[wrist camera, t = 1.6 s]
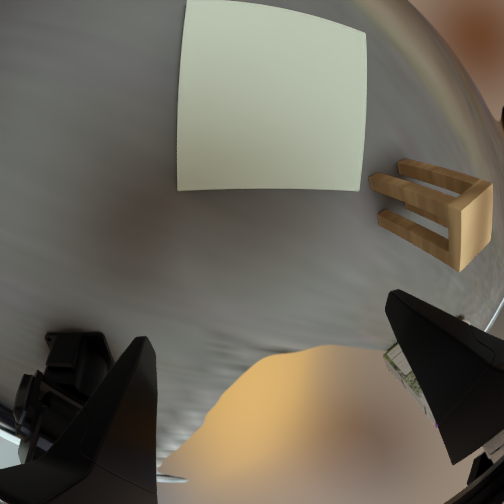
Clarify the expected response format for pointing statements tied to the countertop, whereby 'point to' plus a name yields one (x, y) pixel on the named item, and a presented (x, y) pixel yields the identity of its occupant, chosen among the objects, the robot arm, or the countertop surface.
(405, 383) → the syrup box
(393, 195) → the wooden footstool
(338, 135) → the board
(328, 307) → the countertop surface
